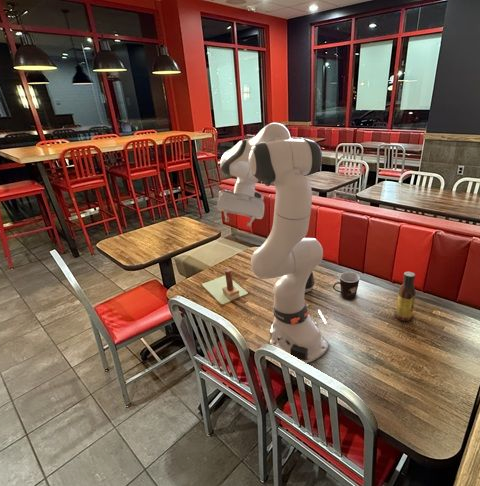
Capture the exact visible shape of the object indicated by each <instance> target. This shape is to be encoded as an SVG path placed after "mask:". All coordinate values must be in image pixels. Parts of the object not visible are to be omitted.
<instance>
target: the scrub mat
mask: <svg viewBox="0 0 480 486" xmlns="http://www.w3.org/2000/svg"><path fill="white" fill-rule="evenodd" d="M232 281H233V286H234V287H235V288H237V289H238V290H239V297H236V298H234V299H232V300H229V299H228V298H227V297H226V296H225V295H224V294H223V290H222V288H223V287H226V286H227V283H226V276H225V274H224V275H222V276H219V277H217V278H214V279H212V280H211V279H210V280H209V281H206V282H203V283H201V286H202V287H203V288H204V289H205V290H206V291H207V292H208V293H209V294H210V295H211V296H212V297H213V298H214V299H215V300H216V301H217V302H218V303H219V304H220V305H225V304H227V303H229V302H231V301H234V300H236V299H238V298H241V297H243V296H246V295H247V294H249V292H248V291H247V290H246V289H244V288H243V287H242V286H240V285H239V284H238V283H237V282H236V281H234V279H232Z"/></svg>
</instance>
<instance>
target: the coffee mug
mask: <svg viewBox="0 0 480 486" xmlns="http://www.w3.org/2000/svg"><path fill="white" fill-rule="evenodd" d="M360 278H361V277H360V275H359V274H357V273H356V272H352V271H345V272H342V273H340V274H339V281H337V282H334V284H333V286H332V288H333V289H334V291H335V292H338V293H340V297H341V298H342V299H344V300H345V301H353V300H356V298H357V293H358V288H359V283H360V280H361V279H360ZM336 285H340V290H338V289H336V288H335V287H336Z"/></svg>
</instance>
